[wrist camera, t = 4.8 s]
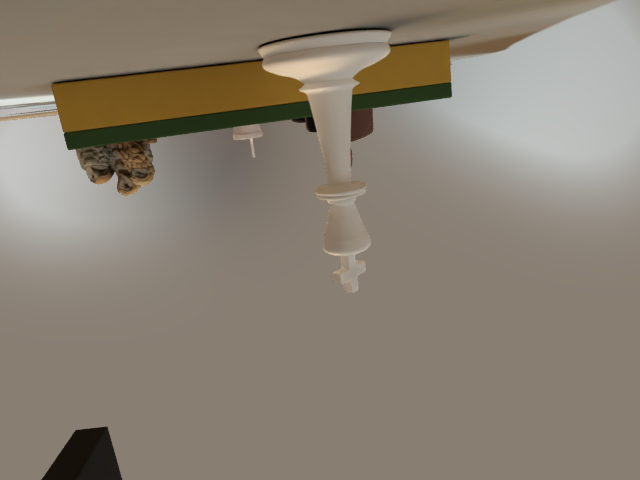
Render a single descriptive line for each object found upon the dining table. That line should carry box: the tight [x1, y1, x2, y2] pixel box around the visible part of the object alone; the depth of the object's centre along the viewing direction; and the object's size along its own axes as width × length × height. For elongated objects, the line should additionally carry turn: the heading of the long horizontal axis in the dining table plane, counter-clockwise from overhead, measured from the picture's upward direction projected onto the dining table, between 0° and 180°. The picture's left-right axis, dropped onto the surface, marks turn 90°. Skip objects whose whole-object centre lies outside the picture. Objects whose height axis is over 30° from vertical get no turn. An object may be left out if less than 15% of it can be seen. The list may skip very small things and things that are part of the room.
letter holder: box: [291, 108, 373, 141], centre depth 117 cm, size 10×20×14 cm, turn 39°
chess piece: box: [258, 30, 391, 293], centre depth 20 cm, size 5×5×10 cm
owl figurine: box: [76, 138, 157, 196], centre depth 96 cm, size 18×12×17 cm, turn 104°
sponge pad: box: [51, 40, 452, 150], centre depth 31 cm, size 20×13×3 cm, turn 75°
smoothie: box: [233, 124, 263, 158], centre depth 107 cm, size 6×6×14 cm
